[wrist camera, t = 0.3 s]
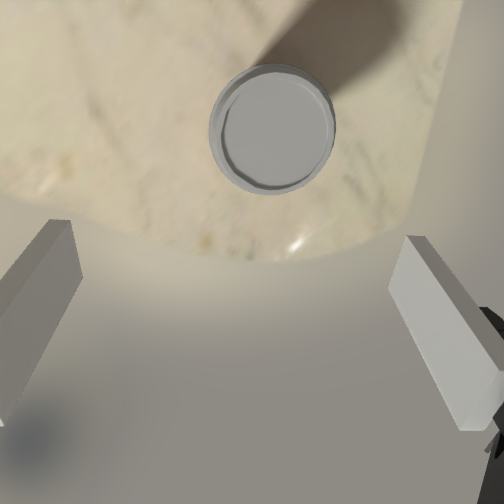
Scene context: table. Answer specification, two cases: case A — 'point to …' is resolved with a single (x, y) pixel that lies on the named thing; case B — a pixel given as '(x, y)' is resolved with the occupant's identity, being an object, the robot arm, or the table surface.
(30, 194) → the table surface
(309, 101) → the disposable coffee cup
